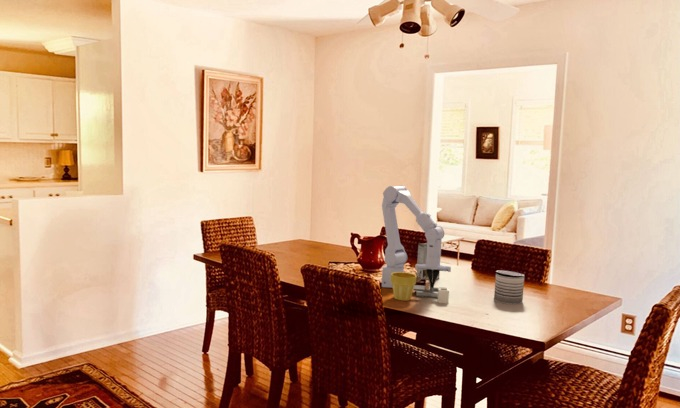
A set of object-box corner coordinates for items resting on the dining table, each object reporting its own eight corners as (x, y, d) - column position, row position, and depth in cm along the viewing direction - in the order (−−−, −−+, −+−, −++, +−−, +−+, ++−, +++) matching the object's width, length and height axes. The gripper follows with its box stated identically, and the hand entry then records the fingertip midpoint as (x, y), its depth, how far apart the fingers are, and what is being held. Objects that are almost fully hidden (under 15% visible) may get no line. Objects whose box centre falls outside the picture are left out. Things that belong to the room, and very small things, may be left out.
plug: (438, 302, 223) (438, 289, 222) (437, 300, 227) (438, 286, 226) (448, 303, 222) (449, 289, 222) (447, 300, 226) (448, 287, 226)
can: (488, 297, 234) (490, 269, 232) (509, 295, 238) (511, 268, 237) (506, 305, 223) (508, 275, 222) (528, 303, 228) (530, 274, 226)
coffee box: (433, 275, 270) (435, 242, 268) (439, 279, 264) (441, 245, 262) (415, 276, 267) (417, 243, 265) (422, 279, 261) (424, 245, 259)
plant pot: (417, 296, 230) (418, 273, 229) (412, 303, 220) (413, 278, 219) (393, 293, 234) (394, 270, 233) (386, 299, 224) (388, 275, 223)
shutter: (413, 290, 233) (413, 283, 232) (413, 286, 239) (413, 279, 239) (428, 291, 232) (429, 284, 231) (428, 287, 238) (428, 280, 238)
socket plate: (416, 296, 230) (416, 291, 230) (416, 290, 241) (416, 285, 241) (447, 298, 229) (447, 294, 229) (445, 292, 240) (446, 287, 239)
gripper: (416, 256, 230) (414, 288, 232) (452, 258, 228) (449, 291, 230) (416, 252, 237) (414, 284, 239) (450, 255, 235) (448, 286, 237)
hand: (431, 287), depth 235 cm, fingers closed
